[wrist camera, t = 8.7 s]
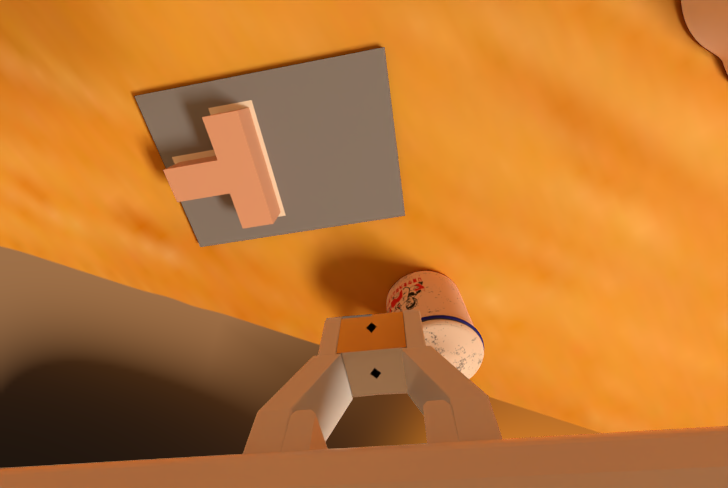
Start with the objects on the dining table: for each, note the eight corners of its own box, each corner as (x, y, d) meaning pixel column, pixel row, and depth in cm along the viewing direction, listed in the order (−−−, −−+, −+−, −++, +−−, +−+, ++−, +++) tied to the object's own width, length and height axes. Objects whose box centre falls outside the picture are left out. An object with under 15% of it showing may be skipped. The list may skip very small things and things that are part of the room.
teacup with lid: (408, 255, 37) (424, 326, 26) (476, 286, 38) (517, 364, 28) (360, 330, 42) (357, 415, 31) (422, 355, 43) (440, 443, 33)
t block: (249, 107, 29) (237, 110, 27) (280, 212, 34) (273, 223, 31) (164, 123, 30) (144, 128, 27) (206, 224, 34) (192, 236, 32)
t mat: (384, 47, 28) (384, 47, 27) (404, 213, 34) (405, 215, 34) (138, 95, 30) (134, 96, 29) (203, 244, 36) (200, 247, 36)
